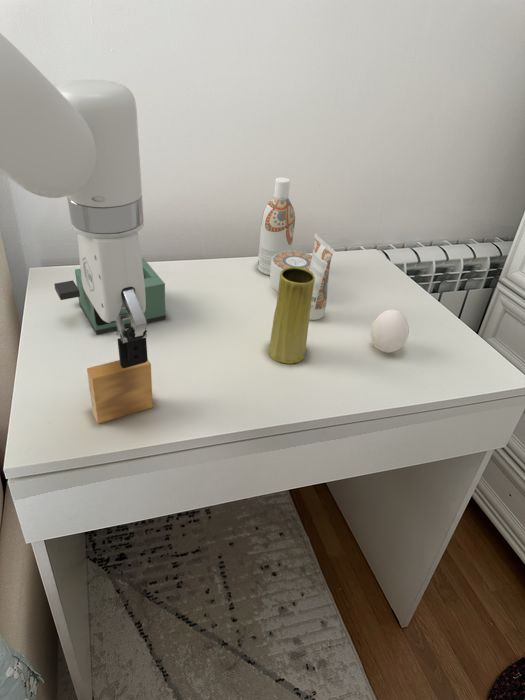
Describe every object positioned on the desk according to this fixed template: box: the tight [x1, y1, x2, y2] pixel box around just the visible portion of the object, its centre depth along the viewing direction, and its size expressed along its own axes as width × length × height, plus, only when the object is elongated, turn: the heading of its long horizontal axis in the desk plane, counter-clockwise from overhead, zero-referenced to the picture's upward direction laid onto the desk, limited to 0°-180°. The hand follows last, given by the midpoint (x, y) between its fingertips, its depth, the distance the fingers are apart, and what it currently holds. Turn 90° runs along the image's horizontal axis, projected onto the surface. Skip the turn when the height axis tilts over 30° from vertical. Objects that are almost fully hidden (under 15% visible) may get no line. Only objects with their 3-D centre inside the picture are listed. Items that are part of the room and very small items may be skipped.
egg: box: [370, 309, 410, 353], centre depth 88 cm, size 6×6×8 cm
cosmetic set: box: [257, 176, 334, 321], centre depth 98 cm, size 25×9×19 cm, turn 22°
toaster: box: [74, 257, 167, 335], centre depth 91 cm, size 12×10×7 cm
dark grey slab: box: [53, 280, 80, 301], centre depth 85 cm, size 3×4×1 cm
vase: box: [267, 267, 315, 365], centre depth 83 cm, size 6×6×14 cm
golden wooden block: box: [86, 359, 154, 424], centre depth 71 cm, size 8×2×8 cm, turn 121°
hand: (120, 342), depth 67 cm, fingers open, 9 cm apart
